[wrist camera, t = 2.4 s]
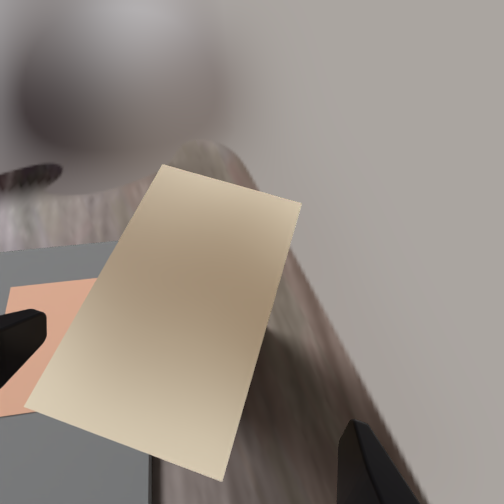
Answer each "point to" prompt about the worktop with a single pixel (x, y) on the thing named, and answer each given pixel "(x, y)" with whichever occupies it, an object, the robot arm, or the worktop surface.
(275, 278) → the cream block
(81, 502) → the mat
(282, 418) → the worktop surface
